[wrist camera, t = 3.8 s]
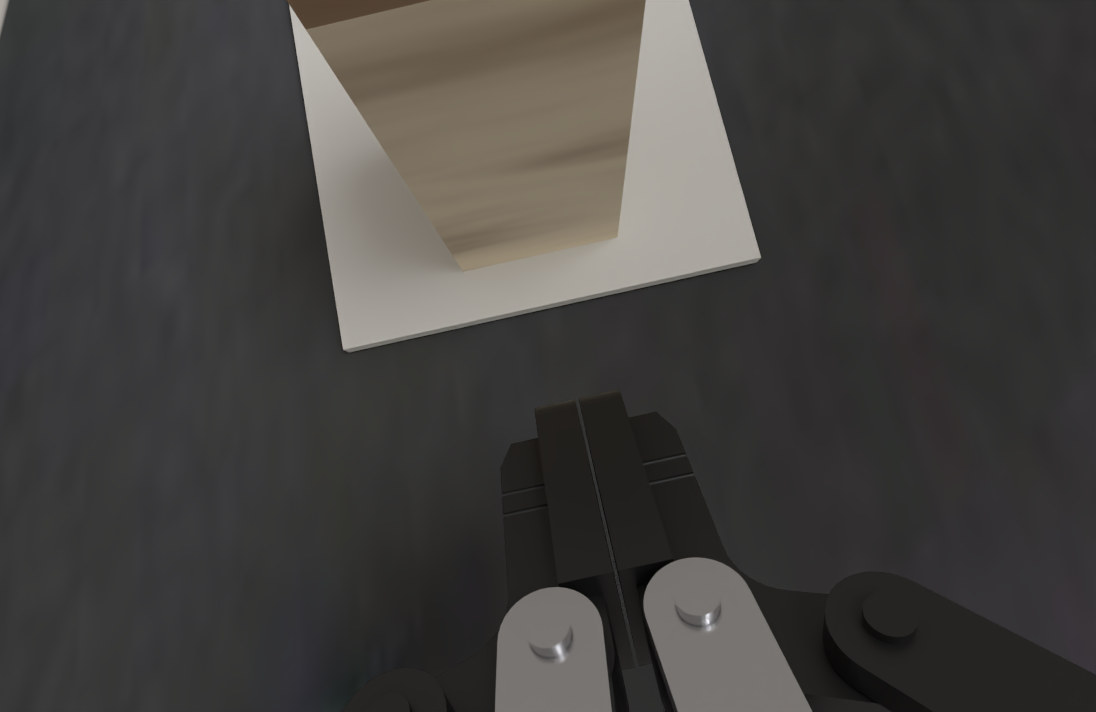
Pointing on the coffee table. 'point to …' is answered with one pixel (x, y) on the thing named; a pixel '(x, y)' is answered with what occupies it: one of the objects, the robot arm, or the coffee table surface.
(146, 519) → the coffee table surface
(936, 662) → the robot arm
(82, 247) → the coffee table surface
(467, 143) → the maple block
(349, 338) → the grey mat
